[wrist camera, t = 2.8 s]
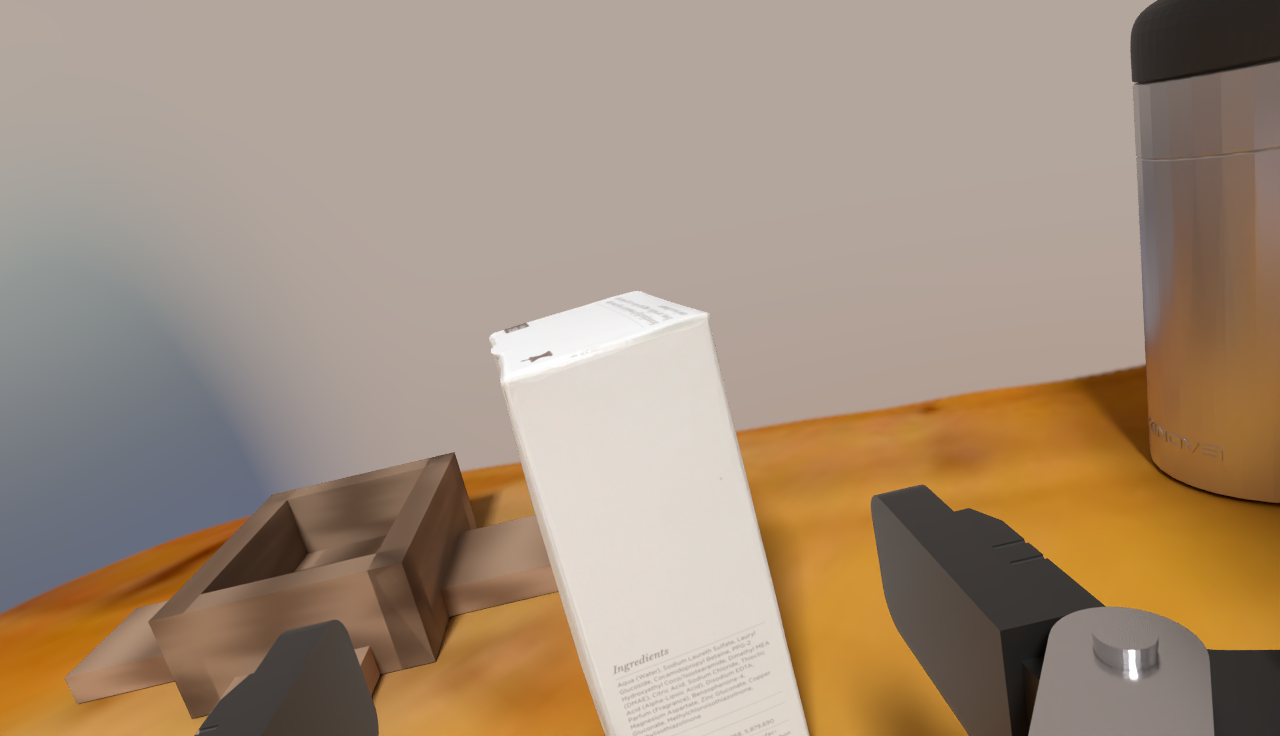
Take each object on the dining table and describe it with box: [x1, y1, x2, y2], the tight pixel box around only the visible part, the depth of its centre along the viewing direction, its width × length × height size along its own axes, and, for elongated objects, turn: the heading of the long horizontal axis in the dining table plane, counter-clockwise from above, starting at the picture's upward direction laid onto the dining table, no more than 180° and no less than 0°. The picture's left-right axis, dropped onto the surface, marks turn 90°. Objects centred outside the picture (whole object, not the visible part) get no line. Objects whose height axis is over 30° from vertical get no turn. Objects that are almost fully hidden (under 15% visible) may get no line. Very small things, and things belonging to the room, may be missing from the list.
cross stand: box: [65, 453, 558, 735], centre depth 39 cm, size 26×24×5 cm
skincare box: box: [489, 291, 810, 736], centre depth 24 cm, size 8×6×15 cm
